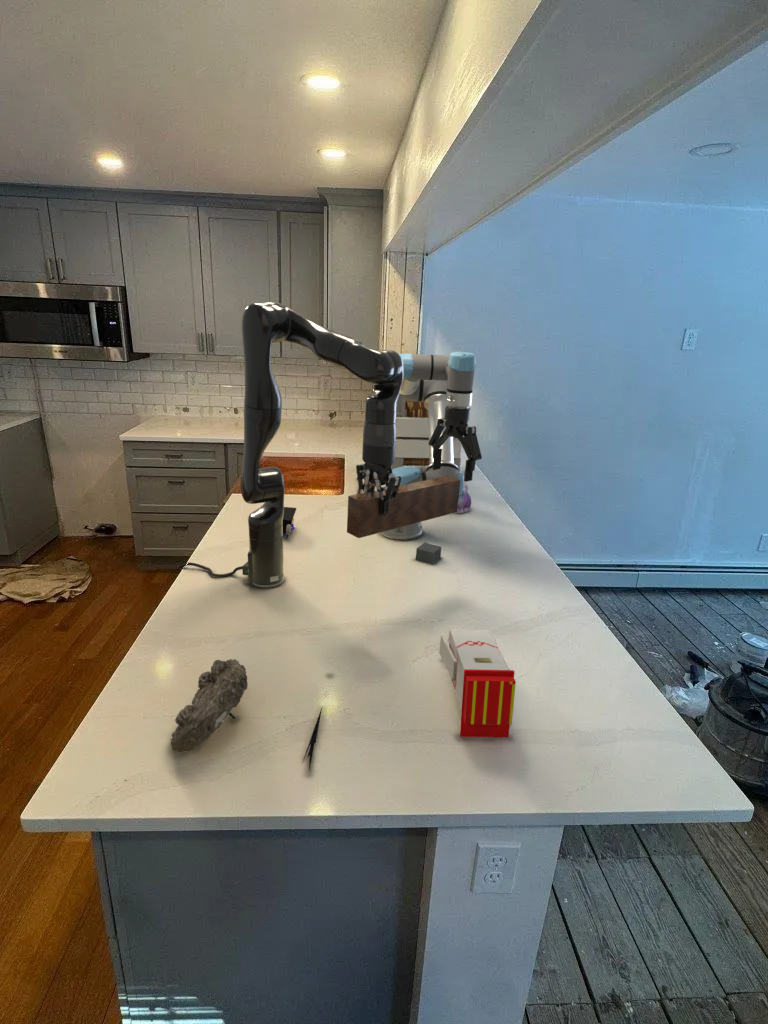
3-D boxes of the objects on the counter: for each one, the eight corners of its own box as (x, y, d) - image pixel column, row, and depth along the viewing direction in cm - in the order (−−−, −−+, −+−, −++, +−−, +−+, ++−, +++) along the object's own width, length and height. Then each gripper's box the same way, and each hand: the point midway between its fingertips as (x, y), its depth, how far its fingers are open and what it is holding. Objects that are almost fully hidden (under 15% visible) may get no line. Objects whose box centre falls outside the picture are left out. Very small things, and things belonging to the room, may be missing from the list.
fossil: (195, 660, 117) (247, 628, 112) (227, 691, 120) (279, 661, 115) (146, 746, 98) (206, 711, 93) (185, 779, 101) (245, 748, 96)
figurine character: (292, 545, 190) (297, 524, 203) (291, 525, 186) (296, 505, 200) (271, 544, 189) (278, 523, 203) (270, 524, 186) (277, 504, 199)
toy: (489, 613, 130) (525, 677, 101) (485, 667, 133) (518, 744, 104) (437, 612, 130) (457, 676, 101) (434, 666, 133) (453, 743, 103)
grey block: (415, 560, 180) (416, 548, 178) (423, 553, 185) (424, 542, 183) (432, 564, 177) (433, 552, 176) (440, 558, 182) (441, 546, 181)
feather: (331, 679, 122) (336, 673, 122) (307, 777, 96) (313, 769, 95) (324, 675, 122) (329, 669, 121) (298, 772, 95) (304, 764, 95)
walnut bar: (358, 538, 130) (360, 501, 127) (346, 532, 133) (348, 495, 130) (457, 512, 152) (460, 479, 149) (444, 507, 155) (447, 475, 152)
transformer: (381, 463, 289) (385, 382, 275) (444, 464, 292) (450, 384, 279) (389, 482, 257) (393, 392, 243) (459, 483, 261) (467, 394, 247)
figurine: (457, 515, 220) (461, 478, 215) (443, 507, 229) (446, 471, 224) (477, 512, 224) (481, 475, 219) (462, 504, 233) (466, 469, 228)
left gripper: (347, 437, 132) (345, 506, 137) (387, 449, 121) (383, 524, 127) (372, 433, 136) (369, 500, 142) (412, 445, 126) (408, 517, 132)
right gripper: (420, 400, 174) (415, 466, 182) (481, 415, 157) (473, 488, 164) (437, 398, 179) (432, 462, 187) (499, 413, 161) (490, 483, 169)
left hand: (376, 511), depth 135 cm, fingers closed on walnut bar, 4 cm apart
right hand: (451, 474), depth 176 cm, fingers open, 13 cm apart
